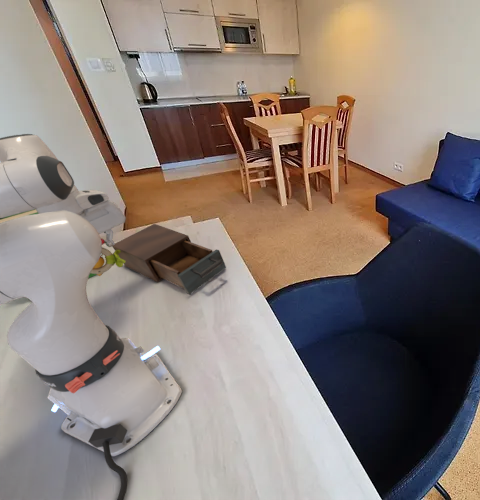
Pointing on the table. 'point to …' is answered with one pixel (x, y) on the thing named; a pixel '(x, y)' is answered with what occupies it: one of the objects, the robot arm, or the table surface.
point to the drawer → (188, 265)
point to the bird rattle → (107, 261)
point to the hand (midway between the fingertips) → (95, 253)
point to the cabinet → (147, 248)
